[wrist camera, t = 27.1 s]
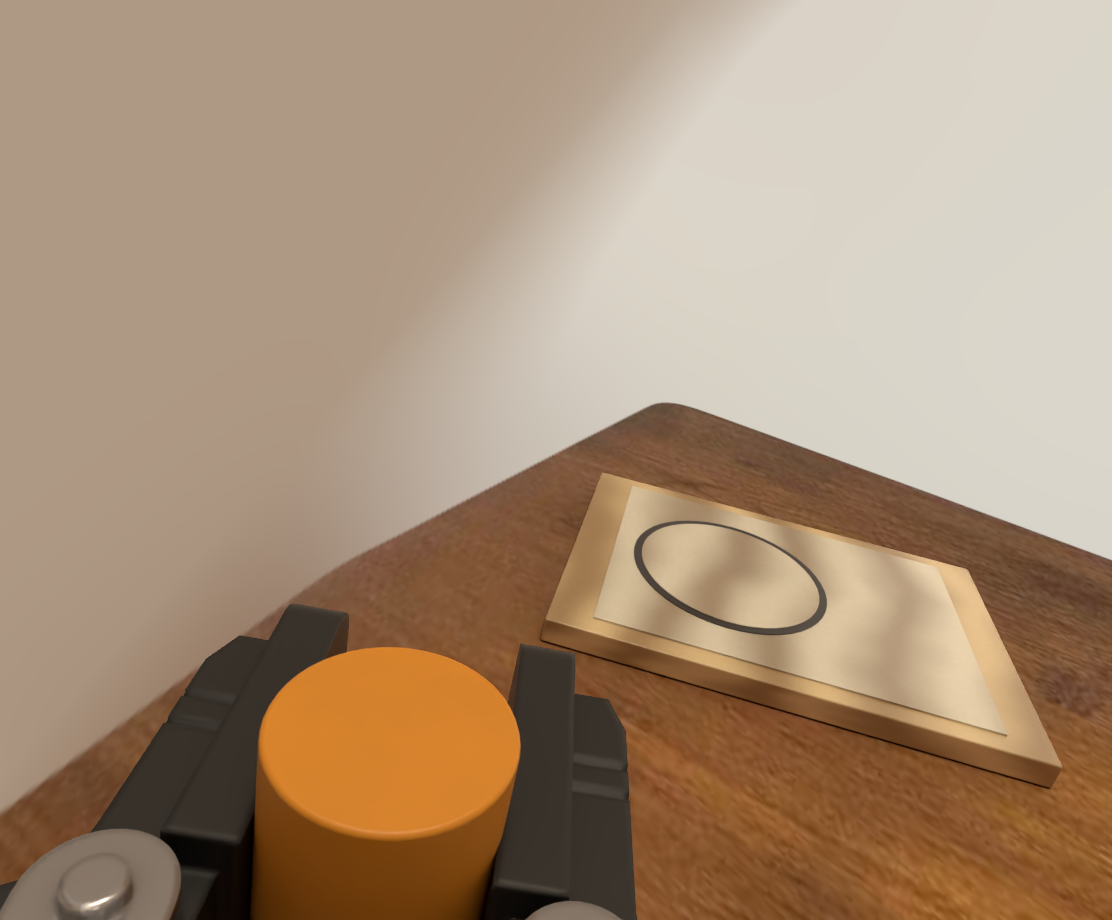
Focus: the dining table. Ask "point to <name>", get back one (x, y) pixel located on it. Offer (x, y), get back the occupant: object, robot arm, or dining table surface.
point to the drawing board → (797, 625)
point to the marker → (381, 790)
